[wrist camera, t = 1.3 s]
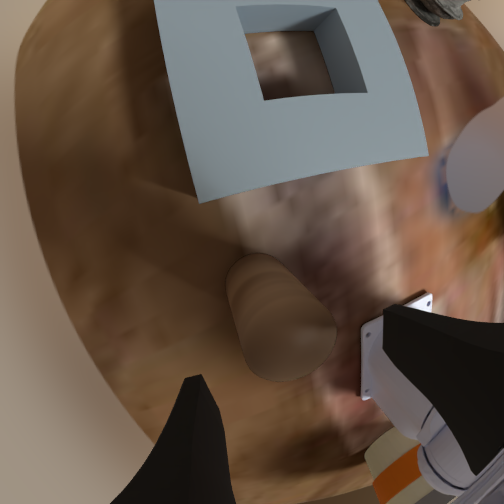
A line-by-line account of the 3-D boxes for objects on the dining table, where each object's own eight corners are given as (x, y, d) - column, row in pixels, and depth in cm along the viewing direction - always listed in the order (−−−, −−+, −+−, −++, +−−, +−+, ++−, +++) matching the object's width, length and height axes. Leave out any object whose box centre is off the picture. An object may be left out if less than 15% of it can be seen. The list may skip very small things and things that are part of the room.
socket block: (395, 156, 17) (428, 155, 13) (199, 199, 15) (199, 203, 12) (342, -3, 13) (364, -23, 9) (156, 7, 11) (150, -23, 8)
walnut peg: (292, 301, 18) (339, 362, 11) (234, 319, 17) (256, 392, 11) (280, 245, 17) (332, 287, 10) (217, 263, 16) (231, 319, 10)
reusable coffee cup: (376, 423, 25) (438, 507, 11) (437, 401, 28) (494, 459, 13) (340, 474, 28) (379, 545, 13) (400, 452, 31) (441, 507, 16)
